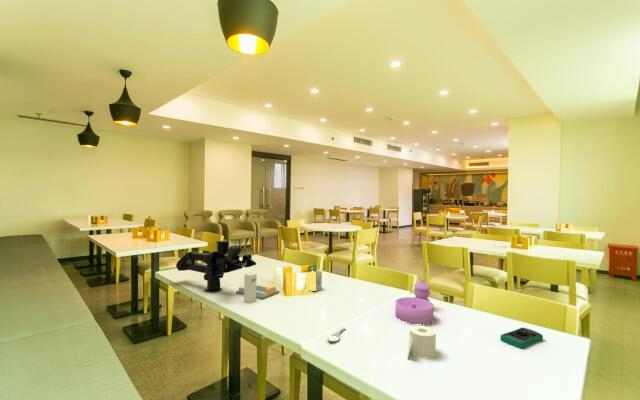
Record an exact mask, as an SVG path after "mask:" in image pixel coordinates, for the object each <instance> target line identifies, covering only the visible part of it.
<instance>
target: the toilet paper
mask: <svg viewBox="0 0 640 400" xmlns="http://www.w3.org/2000/svg"><path fill="white" fill-rule="evenodd" d="M408 335H409V336H408V337H409V338H408V347H407V348H408V351H407V358H408V359H409V357H410V353H411V352H412V353H413V354H412V353H411V354H412V355H414V354H415V355H414V356H416V355H417V356H416V357H419V356H420V357H419V358H423V357H430V358H433V357H435V356H436V348H437V347H436V341H437V340H436V338H437V336H436V335H437V333H436V330H435V329H434V328H431V327H429V326H427V325H411V326H410V327H409V333H408ZM410 351H411V352H410ZM434 355H435V356H434ZM407 358H406V359H407Z"/></svg>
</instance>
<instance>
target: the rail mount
mask: <svg viewBox="0 0 640 400" xmlns="http://www.w3.org/2000/svg"><path fill="white" fill-rule="evenodd" d="M235 293H236V294H237V295H242V296H244V287H242V286H240V287H238V290H236V291H235ZM279 293H280V290H278V288H277V287H276V286H274V285H273V286H270V287H269V286H264V285H260V284H256V299H258V300H262V301H263V300H266V299H267V298H270V297H273V296H275V295H277V294H279Z"/></svg>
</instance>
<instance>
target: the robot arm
mask: <svg viewBox="0 0 640 400" xmlns="http://www.w3.org/2000/svg"><path fill="white" fill-rule="evenodd" d="M241 252H242V247H241V245H235V244H234V245H230V241H229V240H217V241H216V251H212V252H211V253H206V252H205V253H204V252H198V251H194V250H193V251H188V252H186V253H185V255H184V256H182V257H181V258H180V259H179V260H177V262H176V264H175V267H176V269H177V271H179V272H180V271H182V272H184V271H192V272H197V273H201V274H202V273H203V280H204V281H207V282H206V289H204V291H205V292H208V293H213V294H214V293H216V292H219V291H222V290H223V288H221V279H222V278H224V275H225V274H226V273H231V272H235V271H239V270H242V269H243V268H251V267H253V266H256V265H257V262H256V261H254V260H253V259H252V257H253V256H252V254H250V253H249V254H248V253H247V254H244V255H242V260H241V259H240V257H241V256H240V255H239V254H241ZM196 261H199V262H203V263H199V262H196ZM204 263H205V264H204Z"/></svg>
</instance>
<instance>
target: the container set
mask: <svg viewBox="0 0 640 400" xmlns="http://www.w3.org/2000/svg"><path fill="white" fill-rule="evenodd" d="M413 287H414V289H413V294H414V296H415V297H413V296H412V297H411V296H409V297H408V296H407V297H405V296H404V297H400V298H397V299H395V314H394V315H396V316H395V318H396V317H397V318H398V319H400V320H401V321H404V322H407V323H410V324H409V325H411V324H421V326H424V325H423V324H428V323H431V322H432V321H433V322H434V307H435V305H434V303H433V302H431V301H430V300H429V297H430V294H431V291H430V288H431V287H430V284H428V283H427V282H425V279H422V278H420V279H419V280H418V281H417V282H414V285H413ZM397 318H396V319H397ZM398 319H397V320H398ZM401 321H400V322H401ZM407 323H406V324H407ZM431 324H432V323H431Z"/></svg>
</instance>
